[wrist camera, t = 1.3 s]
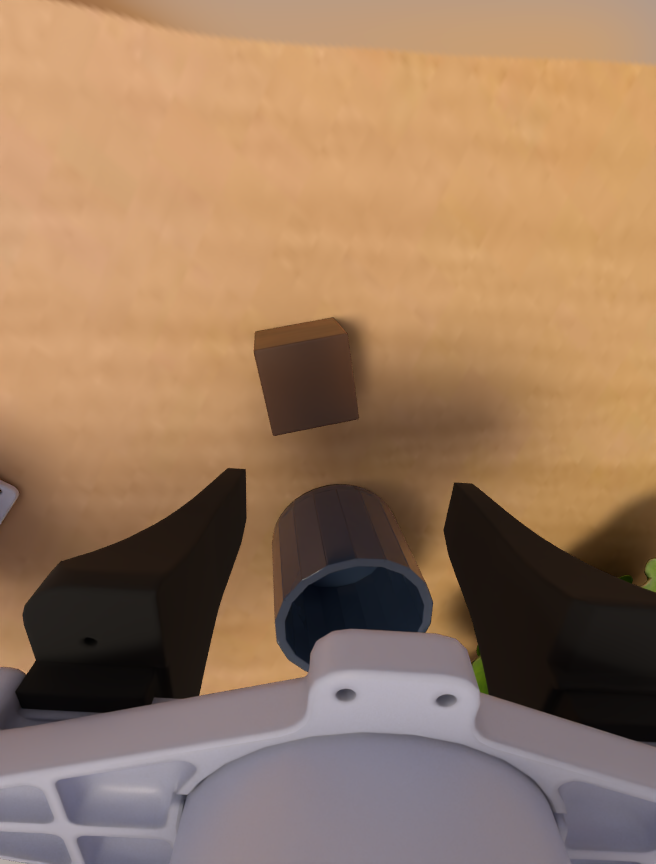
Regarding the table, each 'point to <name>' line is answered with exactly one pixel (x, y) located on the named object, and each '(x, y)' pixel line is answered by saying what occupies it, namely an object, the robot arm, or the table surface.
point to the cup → (342, 570)
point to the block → (306, 375)
